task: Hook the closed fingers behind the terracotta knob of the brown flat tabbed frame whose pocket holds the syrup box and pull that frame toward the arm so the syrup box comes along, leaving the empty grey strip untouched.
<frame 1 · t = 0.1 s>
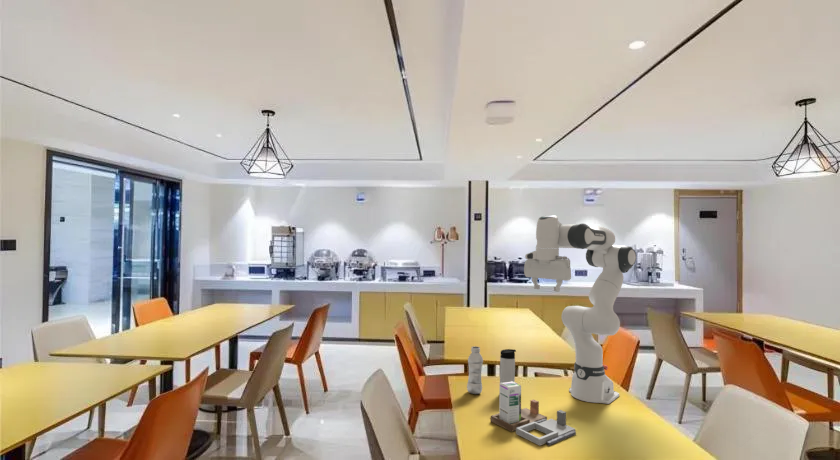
hand: (546, 290, 164), 48 cm above the table, tool pointing down, fingers open, 8 cm apart
empty strip: (546, 424, 144), point 3 cm above the table, slide at 0.0 cm
syrup box: (509, 424, 150), resting in brown flat tabbed frame
plastic bottle: (474, 393, 181), on the table
travel mug: (507, 396, 179), on the table
brown flat tabbed frame: (519, 412, 153), point 3 cm above the table, slide at 0.0 cm
lane rails: (532, 426, 149), on the table
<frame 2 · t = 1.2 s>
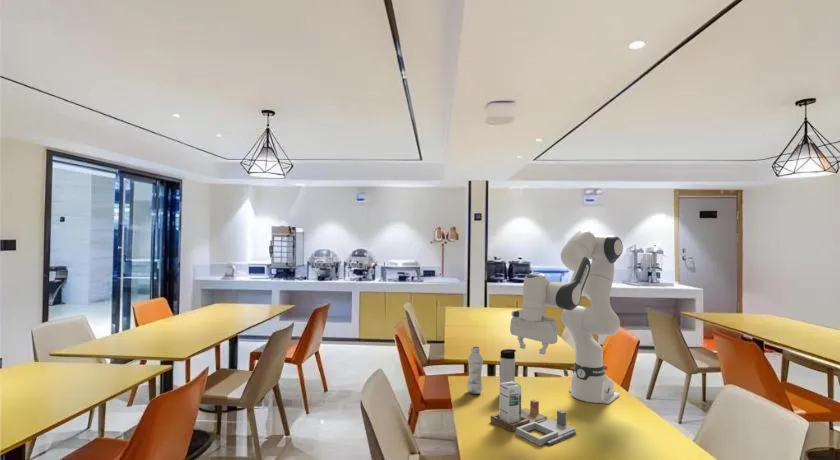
hand: (532, 351, 158), 25 cm above the table, tool pointing down, fingers open, 8 cm apart
nothing on the table moved.
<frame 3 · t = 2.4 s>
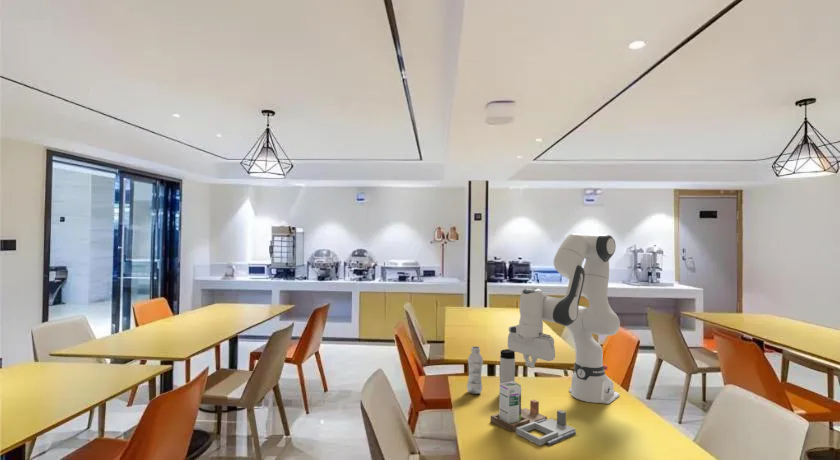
hand: (530, 367, 157), 19 cm above the table, tool pointing down, fingers closed
nothing on the table moved.
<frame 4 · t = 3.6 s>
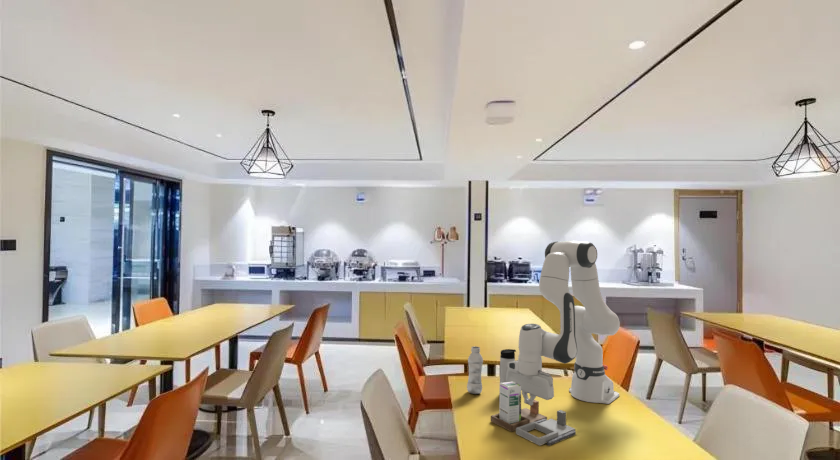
hand: (528, 404, 157), 5 cm above the table, tool pointing down, fingers closed
nothing on the table moved.
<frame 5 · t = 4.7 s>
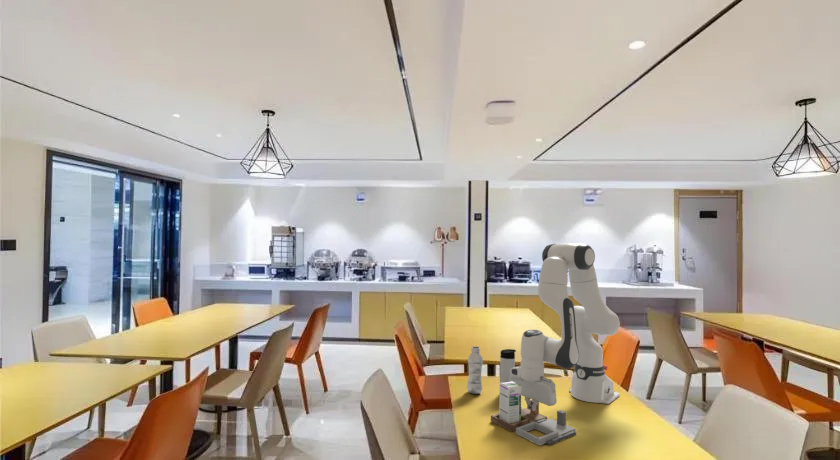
hand: (531, 409, 157), 3 cm above the table, tool pointing down, fingers closed, pressing on brown flat tabbed frame
brown flat tabbed frame: (519, 412, 153), point 3 cm above the table, slide at 0.1 cm, touching gripper
everything else where it was.
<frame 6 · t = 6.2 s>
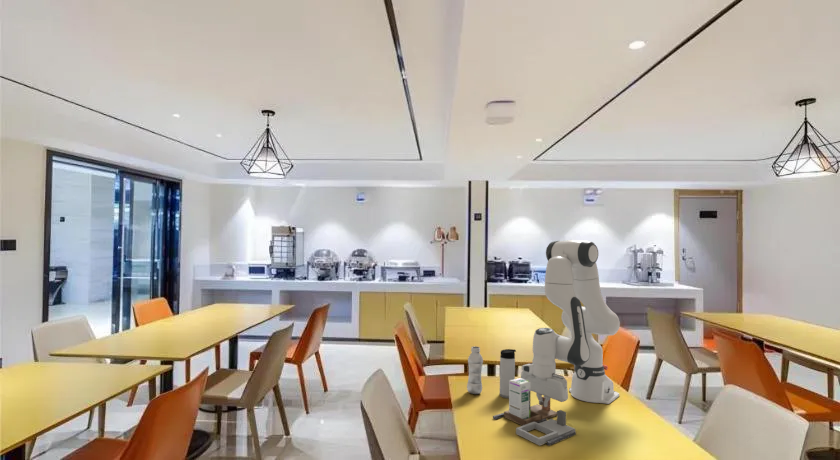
hand: (543, 405, 162), 3 cm above the table, tool pointing down, fingers closed, pressing on brown flat tabbed frame
syrup box: (519, 420, 154), resting in brown flat tabbed frame
brown flat tabbed frame: (531, 408, 158), point 3 cm above the table, slide at 7.2 cm, touching gripper, syrup box
everything else where it was.
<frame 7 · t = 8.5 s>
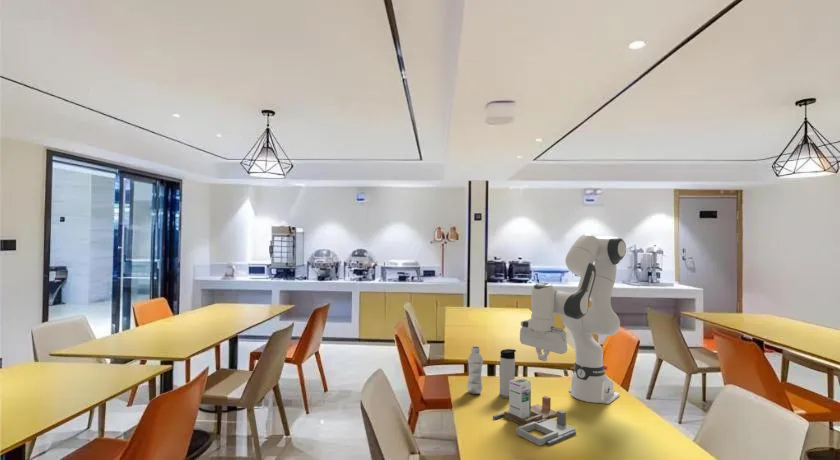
hand: (542, 360, 161), 21 cm above the table, tool pointing down, fingers closed
syrup box: (519, 420, 154), resting in brown flat tabbed frame
brown flat tabbed frame: (531, 408, 158), point 3 cm above the table, slide at 7.4 cm
everything else where it was.
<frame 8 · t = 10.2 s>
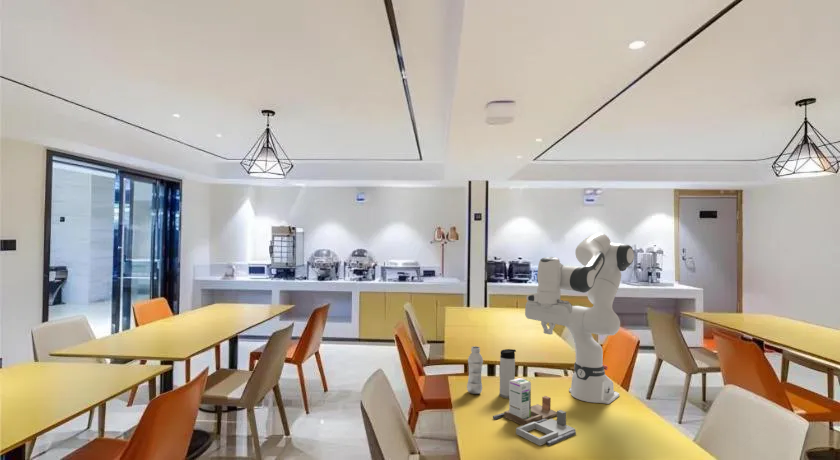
hand: (548, 333, 161), 31 cm above the table, tool pointing down, fingers closed
nothing on the table moved.
at the end: brown flat tabbed frame slide at 7.4 cm; syrup box inside the target area (1.2 cm from its centre), resting in brown flat tabbed frame; syrup box tilted 0° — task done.
